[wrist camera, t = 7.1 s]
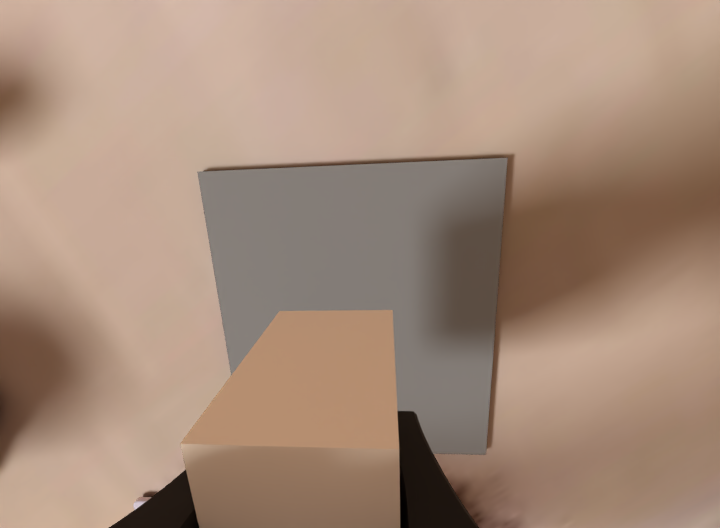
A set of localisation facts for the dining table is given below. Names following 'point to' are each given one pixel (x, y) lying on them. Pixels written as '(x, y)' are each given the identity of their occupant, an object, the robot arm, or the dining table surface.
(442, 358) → the slate mat
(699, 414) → the dining table surface
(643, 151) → the dining table surface
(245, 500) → the cream block
